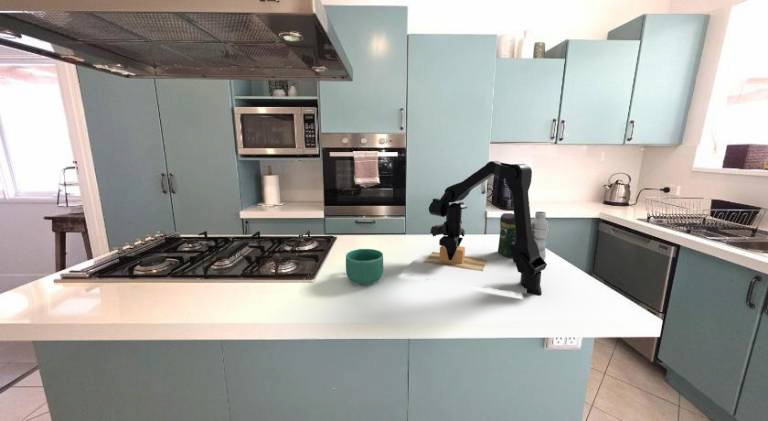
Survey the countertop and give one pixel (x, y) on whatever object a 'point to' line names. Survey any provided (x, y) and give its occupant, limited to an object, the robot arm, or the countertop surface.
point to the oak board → (468, 263)
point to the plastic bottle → (540, 232)
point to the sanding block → (457, 256)
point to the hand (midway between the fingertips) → (451, 257)
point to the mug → (364, 266)
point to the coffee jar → (506, 234)
